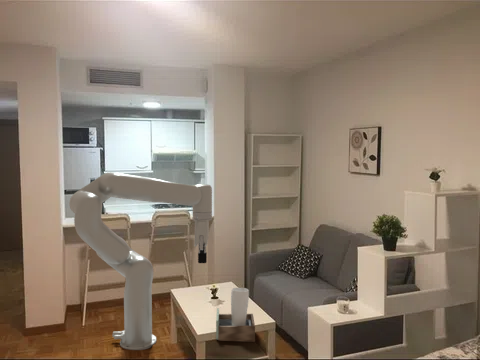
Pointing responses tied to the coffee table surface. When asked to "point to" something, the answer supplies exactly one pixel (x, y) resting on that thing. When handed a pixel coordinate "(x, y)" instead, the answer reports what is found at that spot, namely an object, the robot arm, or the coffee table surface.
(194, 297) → the coffee table surface
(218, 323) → the tray
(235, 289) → the drinking glass
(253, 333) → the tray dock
